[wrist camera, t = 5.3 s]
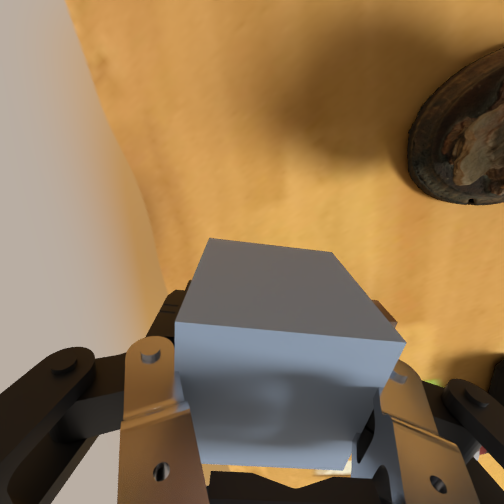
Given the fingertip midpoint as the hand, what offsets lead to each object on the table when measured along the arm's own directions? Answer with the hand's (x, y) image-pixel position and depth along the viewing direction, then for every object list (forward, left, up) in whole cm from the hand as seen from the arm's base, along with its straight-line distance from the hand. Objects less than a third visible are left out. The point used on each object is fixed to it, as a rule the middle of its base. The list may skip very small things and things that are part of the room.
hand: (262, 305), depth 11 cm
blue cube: (0, 0, -1) cm, 1 cm away
